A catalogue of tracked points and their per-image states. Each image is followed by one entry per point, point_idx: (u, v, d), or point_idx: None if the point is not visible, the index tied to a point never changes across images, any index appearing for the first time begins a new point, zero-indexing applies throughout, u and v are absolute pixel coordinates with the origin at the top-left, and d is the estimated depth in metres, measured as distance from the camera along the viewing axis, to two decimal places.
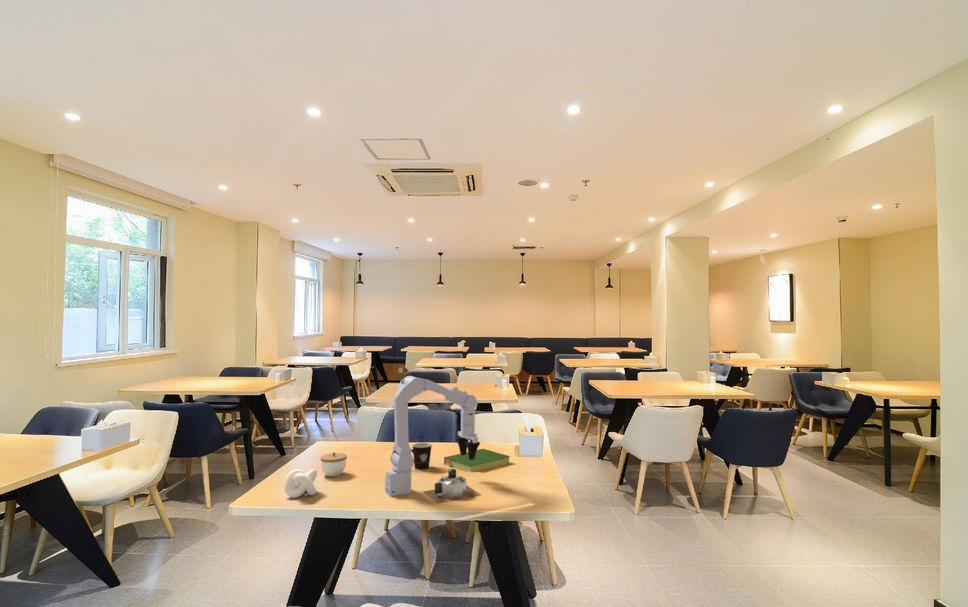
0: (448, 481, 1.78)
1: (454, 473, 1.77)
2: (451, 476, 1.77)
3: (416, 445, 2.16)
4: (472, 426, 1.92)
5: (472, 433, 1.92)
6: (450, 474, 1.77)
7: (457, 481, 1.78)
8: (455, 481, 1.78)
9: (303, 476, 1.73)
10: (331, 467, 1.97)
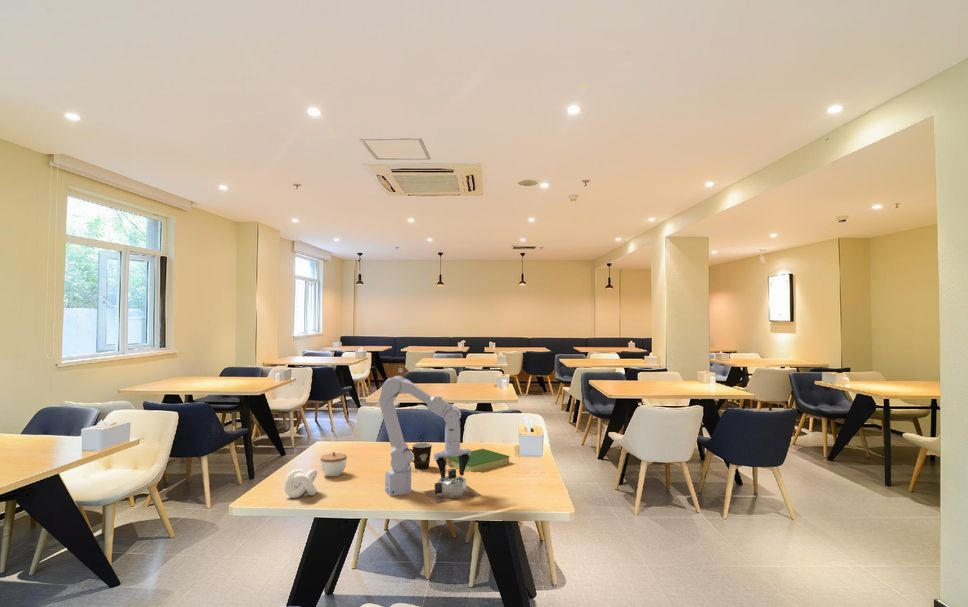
0: (448, 481, 1.78)
1: (454, 473, 1.77)
2: (451, 476, 1.77)
3: (416, 445, 2.16)
4: (446, 443, 1.77)
5: (446, 450, 1.77)
6: (450, 474, 1.77)
7: (457, 481, 1.78)
8: (455, 481, 1.78)
9: (303, 476, 1.73)
10: (331, 467, 1.97)
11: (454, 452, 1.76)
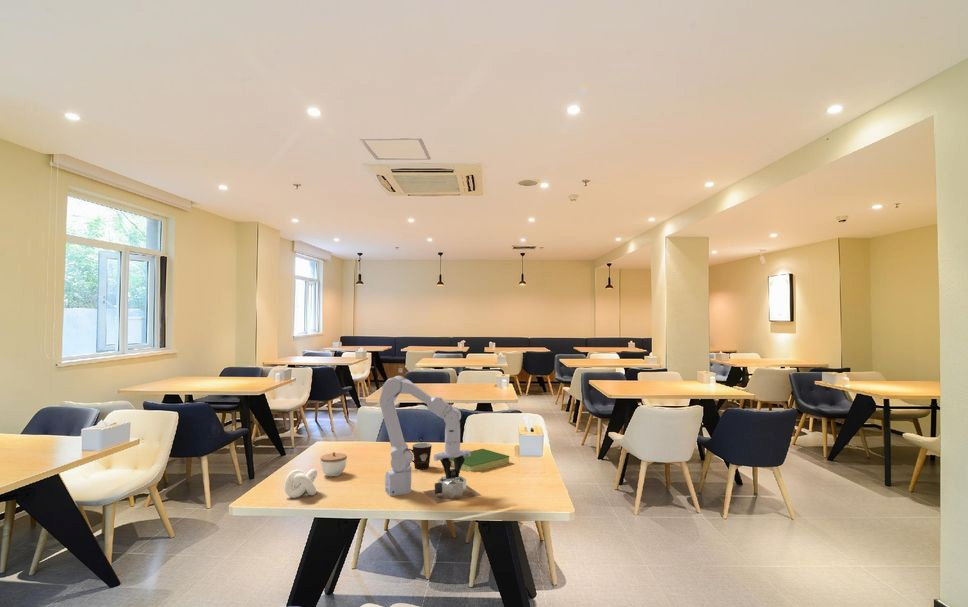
0: (448, 481, 1.78)
1: (454, 473, 1.77)
2: (451, 476, 1.77)
3: (416, 445, 2.16)
4: (446, 444, 1.77)
5: (446, 451, 1.77)
6: (450, 474, 1.77)
7: (457, 481, 1.78)
8: (455, 481, 1.78)
9: (303, 476, 1.73)
10: (331, 467, 1.97)
11: (454, 453, 1.76)
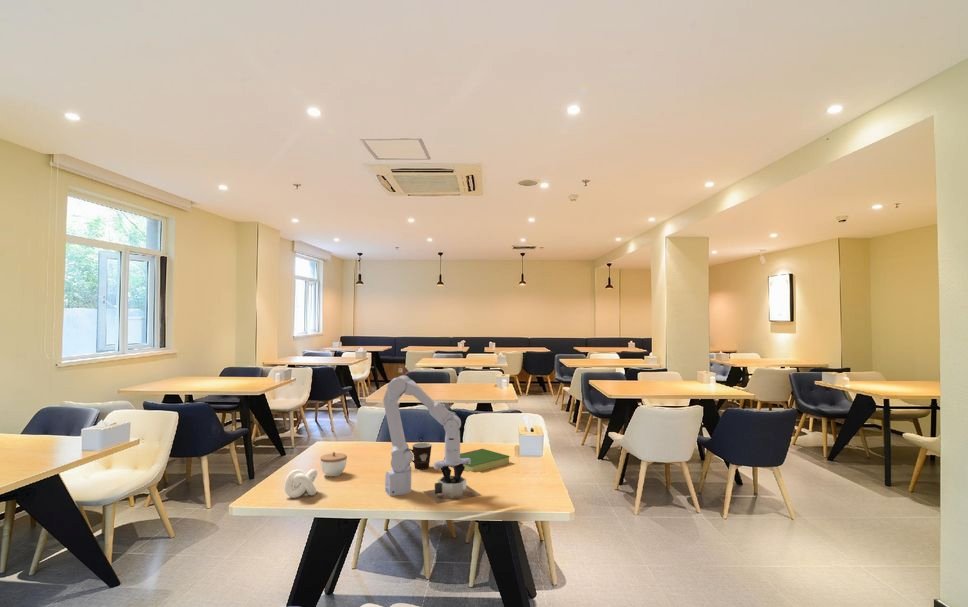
0: None
1: (454, 481, 1.77)
2: None
3: (416, 445, 2.16)
4: (446, 452, 1.77)
5: (446, 460, 1.76)
6: (450, 482, 1.77)
7: None
8: None
9: (303, 476, 1.73)
10: (331, 467, 1.97)
11: (454, 461, 1.76)
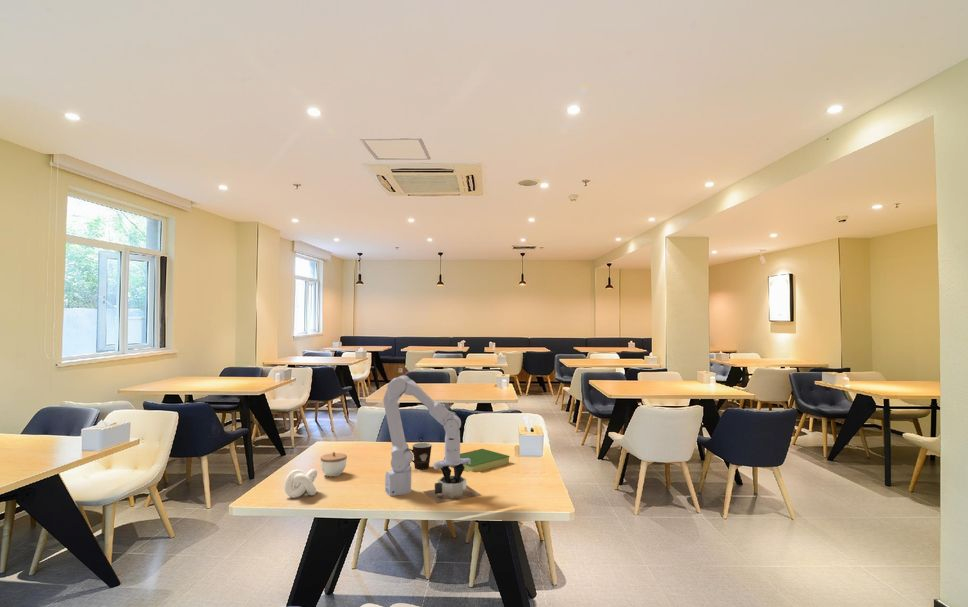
0: None
1: (454, 481, 1.77)
2: None
3: (416, 445, 2.16)
4: (446, 452, 1.77)
5: (446, 460, 1.76)
6: (450, 482, 1.77)
7: None
8: None
9: (303, 476, 1.73)
10: (331, 467, 1.97)
11: (454, 461, 1.76)
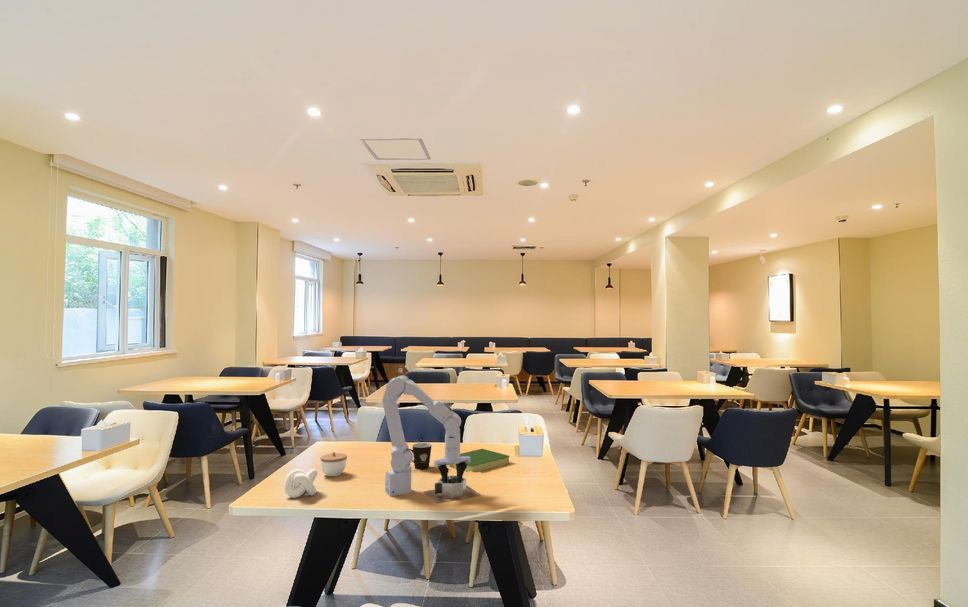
0: None
1: (454, 481, 1.77)
2: None
3: (416, 445, 2.16)
4: (446, 450, 1.77)
5: (446, 458, 1.76)
6: (450, 482, 1.77)
7: None
8: None
9: (303, 476, 1.73)
10: (331, 467, 1.97)
11: (454, 459, 1.76)
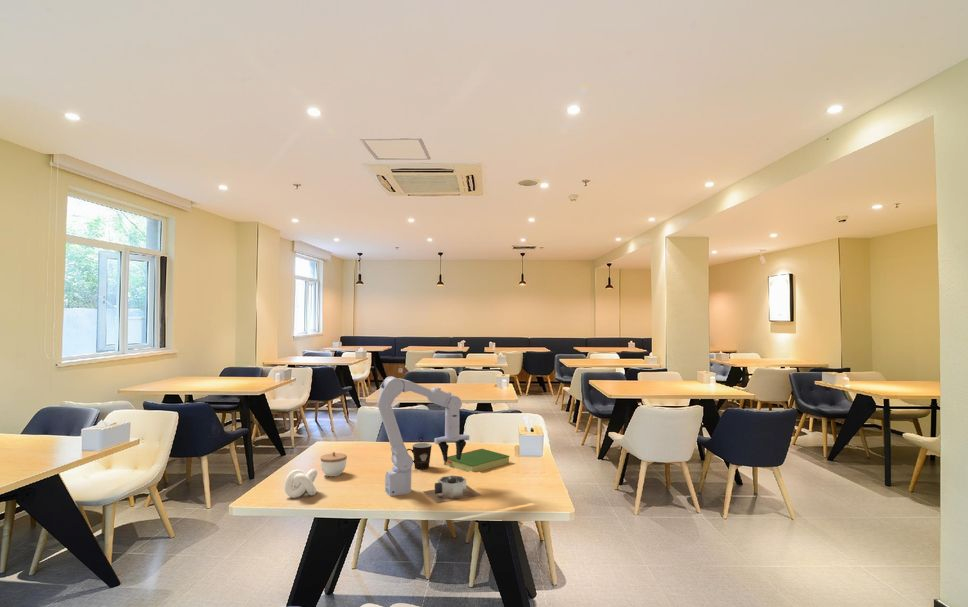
0: None
1: (454, 481, 1.77)
2: None
3: (416, 445, 2.16)
4: (446, 428, 1.87)
5: (446, 435, 1.86)
6: (450, 482, 1.77)
7: None
8: None
9: (303, 476, 1.73)
10: (331, 467, 1.97)
11: (453, 437, 1.86)
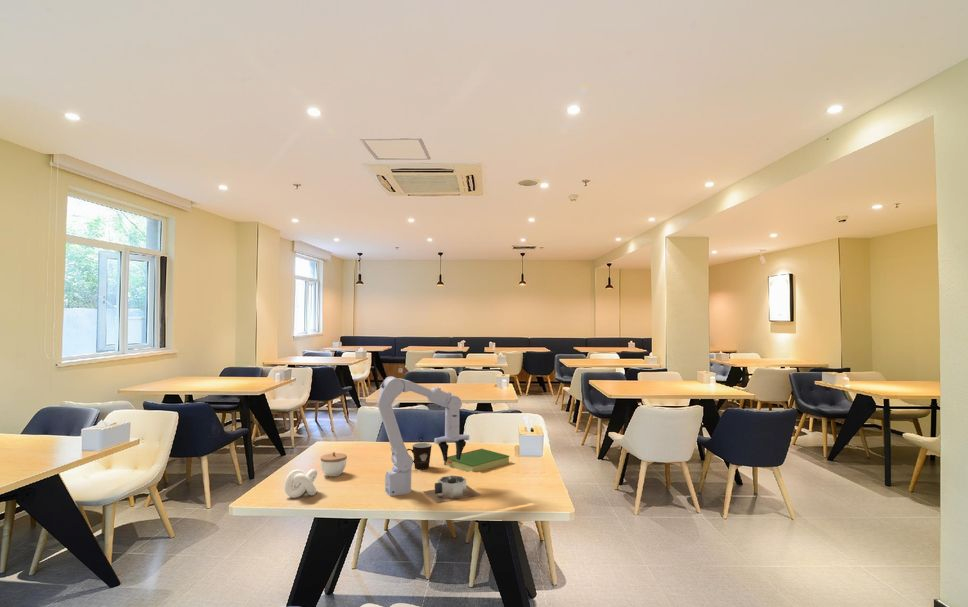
0: None
1: (454, 481, 1.77)
2: None
3: (416, 445, 2.16)
4: (446, 428, 1.87)
5: (446, 435, 1.87)
6: (450, 482, 1.77)
7: None
8: None
9: (303, 476, 1.73)
10: (331, 467, 1.97)
11: (453, 437, 1.86)
